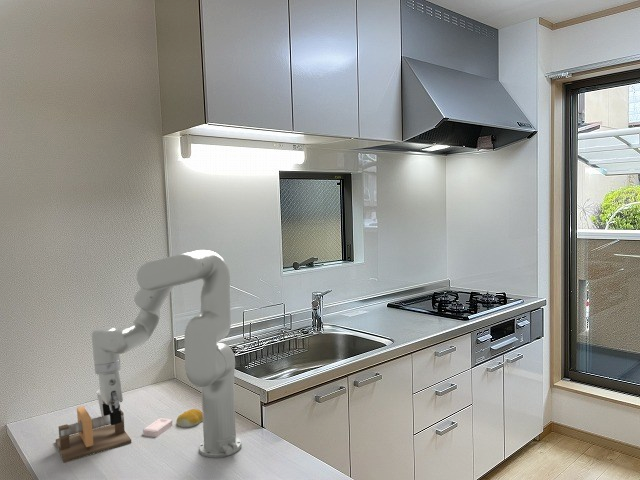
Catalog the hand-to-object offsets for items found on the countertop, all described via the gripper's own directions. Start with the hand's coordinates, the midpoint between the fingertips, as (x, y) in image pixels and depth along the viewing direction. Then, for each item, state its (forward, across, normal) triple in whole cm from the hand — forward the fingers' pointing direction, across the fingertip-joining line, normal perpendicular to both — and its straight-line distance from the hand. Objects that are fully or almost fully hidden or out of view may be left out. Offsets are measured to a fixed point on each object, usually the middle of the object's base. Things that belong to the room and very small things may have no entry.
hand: (112, 419), depth 158 cm
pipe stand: (+6, +1, +6) cm, 9 cm away
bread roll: (+7, -4, -24) cm, 25 cm away
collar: (+4, +1, +8) cm, 9 cm away
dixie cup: (+6, +18, -3) cm, 19 cm away
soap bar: (+7, -3, -13) cm, 15 cm away
